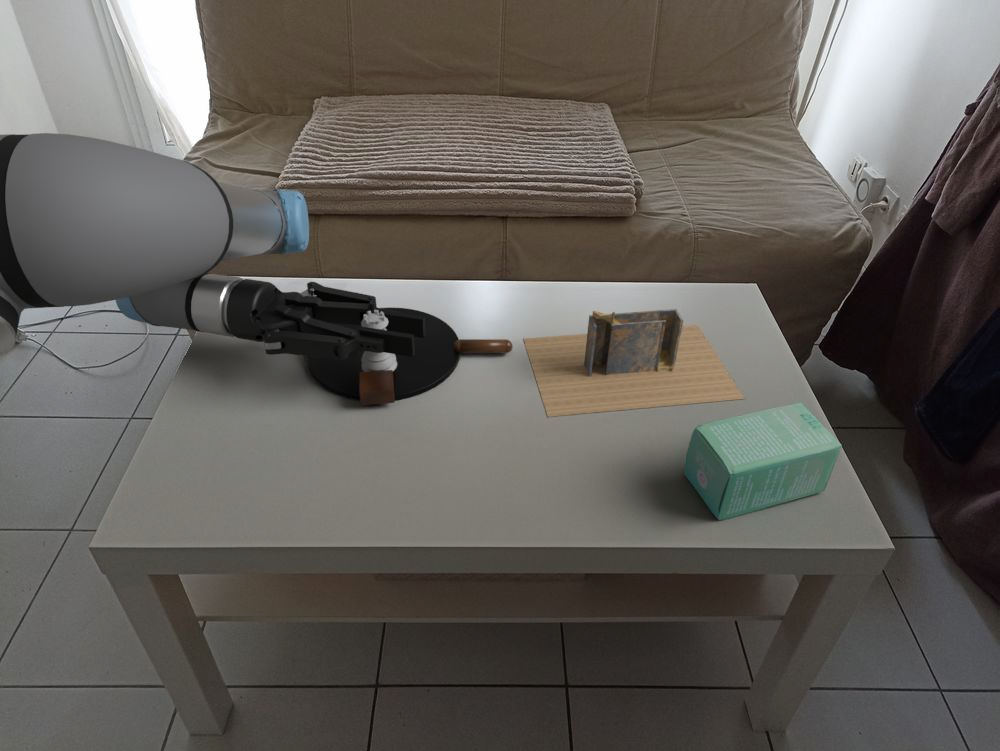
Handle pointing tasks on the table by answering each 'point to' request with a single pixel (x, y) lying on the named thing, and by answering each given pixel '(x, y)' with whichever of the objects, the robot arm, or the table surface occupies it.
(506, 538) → the table surface
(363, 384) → the block
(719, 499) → the box
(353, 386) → the pan
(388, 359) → the rook chess piece
